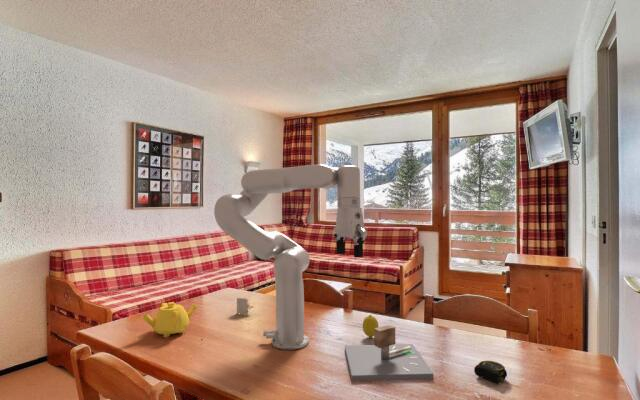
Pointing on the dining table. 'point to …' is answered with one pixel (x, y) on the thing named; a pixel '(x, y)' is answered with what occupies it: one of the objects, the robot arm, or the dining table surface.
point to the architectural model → (243, 306)
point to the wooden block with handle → (387, 341)
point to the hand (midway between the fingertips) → (349, 255)
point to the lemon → (370, 325)
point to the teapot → (170, 319)
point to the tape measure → (491, 371)
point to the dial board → (386, 364)
